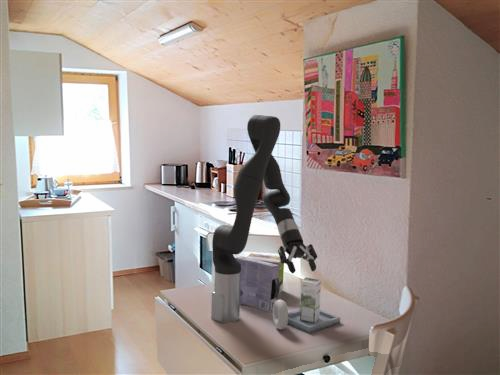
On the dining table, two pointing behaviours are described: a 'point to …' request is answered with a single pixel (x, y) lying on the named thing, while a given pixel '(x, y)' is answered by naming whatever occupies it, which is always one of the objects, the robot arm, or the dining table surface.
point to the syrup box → (310, 299)
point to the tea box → (272, 260)
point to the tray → (321, 323)
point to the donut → (280, 314)
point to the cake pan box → (258, 283)
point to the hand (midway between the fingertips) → (304, 271)
